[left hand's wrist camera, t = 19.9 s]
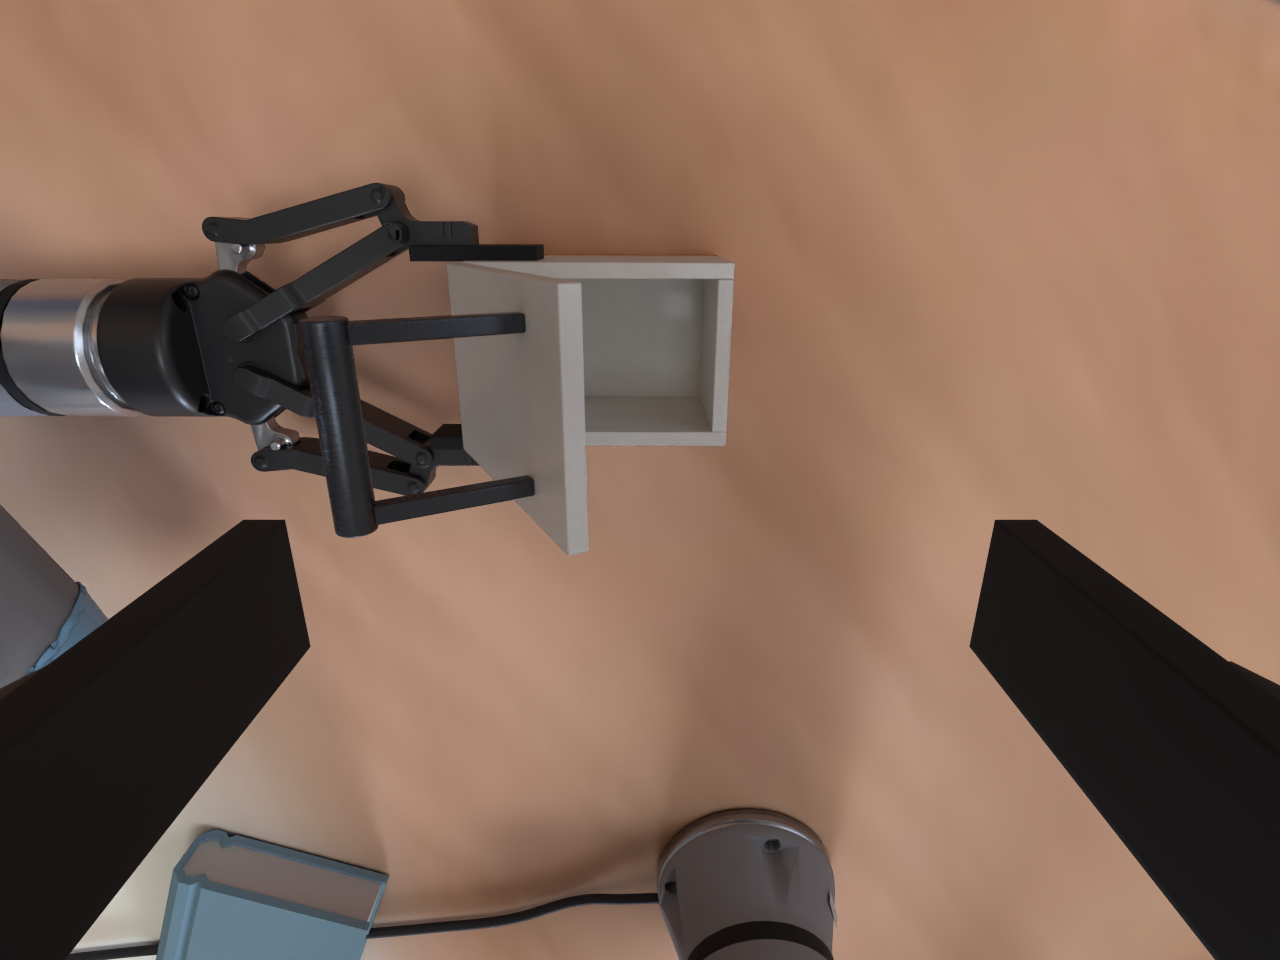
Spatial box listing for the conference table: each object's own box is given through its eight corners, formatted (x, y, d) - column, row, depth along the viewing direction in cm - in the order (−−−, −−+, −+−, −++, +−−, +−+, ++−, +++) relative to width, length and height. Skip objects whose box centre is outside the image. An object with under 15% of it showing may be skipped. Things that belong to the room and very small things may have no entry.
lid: (582, 282, 21) (300, 292, 18) (589, 551, 25) (353, 607, 21) (463, 262, 33) (278, 266, 29) (479, 447, 36) (314, 471, 33)
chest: (716, 255, 42) (735, 262, 33) (710, 405, 45) (726, 446, 37) (494, 254, 42) (457, 261, 33) (504, 404, 45) (473, 445, 37)
